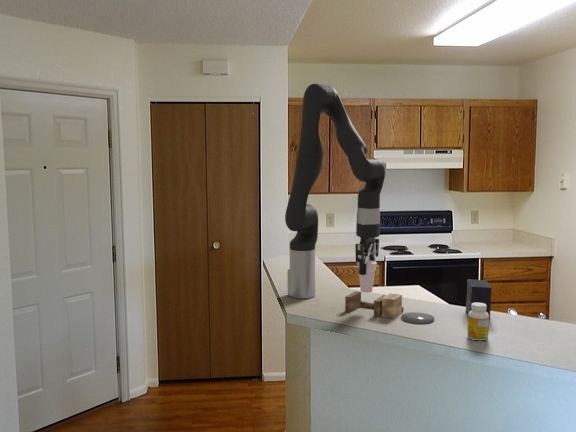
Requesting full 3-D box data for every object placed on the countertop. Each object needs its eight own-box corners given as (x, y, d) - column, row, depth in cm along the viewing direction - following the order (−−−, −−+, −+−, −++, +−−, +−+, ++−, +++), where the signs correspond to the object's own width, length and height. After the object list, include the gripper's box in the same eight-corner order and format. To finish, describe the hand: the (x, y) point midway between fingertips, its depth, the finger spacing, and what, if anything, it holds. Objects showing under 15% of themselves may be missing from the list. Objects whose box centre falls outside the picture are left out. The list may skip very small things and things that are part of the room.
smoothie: (364, 294, 172) (365, 251, 170) (352, 289, 177) (353, 247, 176) (380, 292, 175) (381, 249, 173) (368, 287, 180) (369, 246, 179)
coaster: (396, 320, 166) (396, 318, 166) (407, 312, 174) (407, 310, 174) (428, 325, 161) (428, 323, 161) (438, 317, 169) (438, 315, 169)
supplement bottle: (464, 335, 152) (465, 301, 151) (482, 334, 152) (483, 301, 151) (472, 342, 147) (473, 307, 146) (491, 341, 147) (492, 306, 146)
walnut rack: (345, 311, 176) (345, 293, 176) (356, 304, 184) (357, 287, 183) (393, 319, 168) (393, 300, 167) (403, 311, 175) (403, 293, 175)
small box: (491, 320, 166) (492, 287, 165) (469, 319, 167) (470, 286, 166) (486, 310, 176) (487, 279, 175) (465, 309, 177) (466, 278, 176)
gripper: (366, 218, 181) (365, 267, 183) (347, 223, 169) (346, 275, 171) (387, 220, 177) (386, 270, 179) (370, 225, 165) (368, 278, 167)
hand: (366, 272), depth 175 cm, fingers closed on smoothie, 6 cm apart
